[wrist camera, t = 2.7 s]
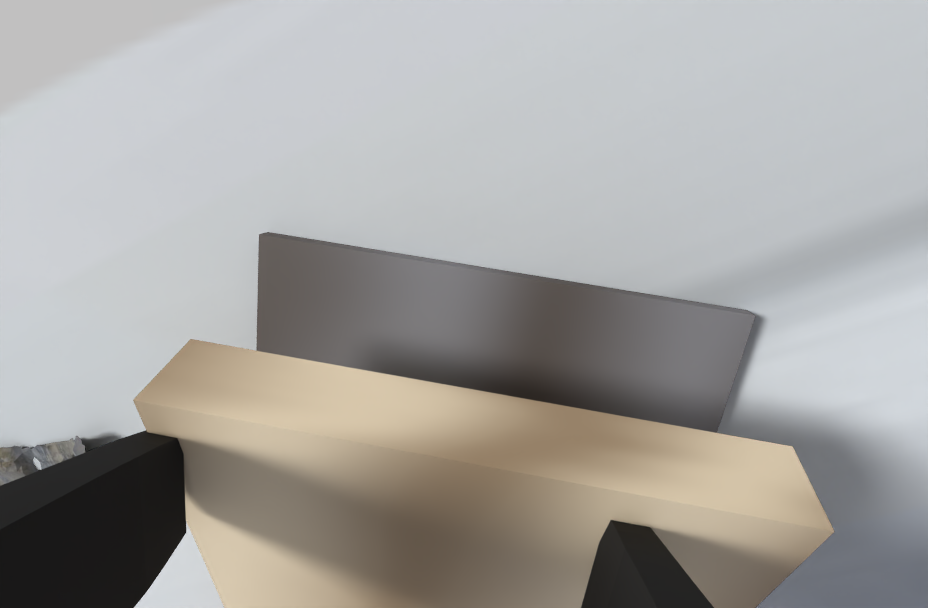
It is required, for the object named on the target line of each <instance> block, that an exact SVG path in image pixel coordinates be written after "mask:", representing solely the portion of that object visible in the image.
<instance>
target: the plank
mask: <svg viewBox="0 0 928 608" xmlns="http://www.w3.org/2000/svg"><path fill="white" fill-rule="evenodd" d="M133 401H134V403H135V405H136V408H137V410H138V412H139V415H140V417H141V419H142V421H143V424H144V426H145V428H146V430H147V432H149V433H154V434H159V435H165V436H170V437H175V438H178V440H179V443H180V446H181V448H182V451H183V453H184V481H185V510H186V521H187V523H188V526H189V528H190V530H191V533H192V535H193V537H194V539H195V542H196V544H197V546H198V548H199V551H200V553H201V555H202V557H203V560H204V562H205V564H206V567H207V569H208V571H209V573H210V576H211V578H212V580H213V582H214V585H215V587H216V589H217V592H218V594H219V596H220V598H221V601H222V603H223V605H224V607H225V608H581V606H582V602H583V599H584V595H585V591H586V588H587V584H588V581H589V577H590V574H591V570H592V566H593V563H594V559H595V556H596V552H597V548H598V545H599V542H600V540H601V538H602V536H603V534H604V532H605V530H606V528H607V526H608V524H609V522H610V520H614V521H620V522H625V523H631V524H636V525H642V526H647V527H650V528H651V529H652V530H653V531H654V532H655V534H656V535H657V536H658V537H659V539H660V540H661V541H662V543H663V544H664V545H665V546H666V548H667V549H668V550H669V551H670V553H671V554H672V555H673V556H674V558H675V559H676V560H677V562H678V563H679V564H680V565H681V567H682V568H683V569H684V570H685V572H686V573H687V574H688V576H689V577H690V578H691V579H692V581H693V582H694V583H695V584H696V586H697V587H698V588H699V589H700V591H701V592H702V593H703V594H704V596H705V597H706V598H707V599H708V601H709V602H710V603H711V604H712V606H713V607H714V608H756V607H757V606H758V605H759V604H760V603H761V602H762V601H763V600H764V599H765V598H766V597H767V596H768V595H769V594H770V593H771V592H772V591H773V590H774V589H775V588H776V587H777V586H778V585H780V584H781V583H782V582H783V581H784V580H785V579H786V578H787V577H788V576H789V575H790V574H791V573H792V572H793V571H794V570H795V569H796V568H797V567H798V566H799V565H800V564H801V563H802V562H803V561H805V560H806V559H807V558H808V557H809V556H810V555H811V554H812V553H813V552H814V551H815V550H816V549H817V548H818V547H819V546H820V545H821V544H822V543H823V542H824V541H825V540H826V539H827V538H829V537H830V536H831V535H832V534H833V533H834V530H833V528H832V525H831V523H830V521H829V519H828V517H827V515H826V513H825V511H824V509H823V507H822V505H821V503H820V501H819V499H818V497H817V495H816V493H815V491H814V489H813V487H812V485H811V483H810V481H809V479H808V477H807V475H806V473H805V471H804V469H803V467H802V465H801V463H800V461H799V459H798V457H797V454H796V452H795V450H794V448H793V446H787V445H782V444H776V443H770V442H765V441H759V440H753V439H748V438H742V437H737V436H731V435H725V434H720V433H714V432H709V431H703V430H697V429H692V428H686V427H681V426H675V425H669V424H664V423H658V422H653V421H647V420H641V419H636V418H630V417H625V416H619V415H613V414H608V413H602V412H597V411H591V410H585V409H580V408H574V407H569V406H563V405H557V404H552V403H546V402H541V401H535V400H529V399H524V398H518V397H512V396H507V395H501V394H496V393H490V392H484V391H479V390H473V389H468V388H462V387H456V386H451V385H445V384H440V383H434V382H428V381H423V380H417V379H412V378H406V377H400V376H395V375H389V374H384V373H378V372H372V371H367V370H361V369H356V368H350V367H344V366H339V365H333V364H328V363H322V362H316V361H311V360H305V359H299V358H294V357H288V356H283V355H277V354H271V353H266V352H260V351H255V350H249V349H243V348H238V347H232V346H227V345H221V344H215V343H210V342H204V341H199V340H193V339H190V340H189V341H188V343H187V344H186V345H185V346H184V347H183V348H182V349H181V350H180V351H179V352H178V353H177V354H176V355H175V356H174V357H173V358H172V359H171V361H170V362H169V363H168V364H167V365H166V366H165V367H164V368H163V369H162V370H161V371H160V372H159V373H158V374H157V375H156V376H155V377H154V378H153V380H152V381H151V382H150V383H149V384H148V385H147V386H146V387H145V388H144V389H143V390H142V391H141V392H140V393H139V394H138V395H137V396H136V398H135V399H134V400H133Z"/></svg>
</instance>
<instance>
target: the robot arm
mask: <svg viewBox="0 0 928 608" xmlns="http://www.w3.org/2000/svg"><path fill="white" fill-rule="evenodd" d="M185 533H186V510H185V481H184V453H183V451H182V448H181V446H180V443H179V440H178V438H175V437H170V436H165V435H159V434H154V433H149V432H147V430H146V431H143V432H140V433H137V434H134V435H131V436H128V437H125V438H122V439H120V440H117V441H114V442H111V443H109V444H106V445H103V446H101V447H98V448H96V449H93V450H90V451H88V452H85V453H83V454H80V455H78V456H75V457H72V458H70V459H67V460H65V461H62V462H60V463H57V464H55V465H52V466H50V467H47V468H44V469H42V470H39V471H37V472H34V473H32V474H29V475H27V476H24V477H21V478H19V479H16V480H14V481H11V482H9V483H6V484H3V485H1V486H0V608H134V607H135V605H136V604H137V603H138V602H139V600H140V599H141V598H142V597H143V595H144V594H145V593H146V592H147V590H148V589H149V588H150V586H151V585H152V583H153V582H154V580H155V579H156V577H157V576H158V574H159V573H160V572H161V570H162V569H163V567H164V566H165V564H166V563H167V561H168V560H169V558H170V557H171V555H172V553H173V552H174V550H175V549H176V547H177V546H178V544H179V543H180V541H181V540H182V538H183V536H184V535H185ZM581 608H714V607H713V606H712V604H711V603H710V602H709V601H708V599H707V598H706V597H705V596H704V594H703V593H702V592H701V591H700V589H699V588H698V587H697V586H696V584H695V583H694V582H693V581H692V579H691V578H690V577H689V576H688V574H687V573H686V572H685V570H684V569H683V568H682V567H681V565H680V564H679V563H678V562H677V560H676V559H675V558H674V556H673V555H672V554H671V553H670V551H669V550H668V549H667V548H666V546H665V545H664V544H663V543H662V541H661V540H660V539H659V537H658V536H657V535H656V534H655V532H654V531H653V530H652V529H651V528H650V527H647V526H642V525H636V524H631V523H625V522H620V521H614V520H610V522H609V524H608V526H607V528H606V530H605V532H604V534H603V536H602V538H601V540H600V542H599V545H598V548H597V552H596V556H595V559H594V563H593V566H592V570H591V574H590V577H589V581H588V584H587V588H586V591H585V595H584V599H583V602H582V606H581Z"/></svg>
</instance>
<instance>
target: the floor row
mask: <svg viewBox="0 0 928 608" xmlns="http://www.w3.org/2000/svg"><path fill="white" fill-rule="evenodd" d="M754 319H755V315H754V314H752V313H751V312H749V311H747V310H742V309H736V308H730V307H723V306H717V305H711V304H705V303H699V302H693V301H687V300H681V299H674V298H668V297H662V296H656V295H650V294H644V293H638V292H631V291H625V290H619V289H613V288H607V287H601V286H595V285H588V284H582V283H576V282H570V281H564V280H558V279H552V278H546V277H539V276H533V275H527V274H521V273H515V272H509V271H503V270H496V269H490V268H484V267H478V266H472V265H466V264H460V263H454V262H447V261H441V260H435V259H429V258H423V257H417V256H411V255H404V254H398V253H392V252H386V251H380V250H374V249H368V248H361V247H355V246H349V245H343V244H337V243H331V242H325V241H319V240H312V239H306V238H300V237H294V236H288V235H282V234H276V233H269V232H267V233H263V234H259V263H258V309H257V351H260V352H266V353H271V354H277V355H283V356H288V357H294V358H299V359H305V360H311V361H316V362H322V363H328V364H333V365H339V366H344V367H350V368H356V369H361V370H367V371H372V372H378V373H384V374H389V375H395V376H400V377H406V378H412V379H417V380H423V381H428V382H434V383H440V384H445V385H451V386H456V387H462V388H468V389H473V390H479V391H484V392H490V393H496V394H501V395H507V396H512V397H518V398H524V399H529V400H535V401H541V402H546V403H552V404H557V405H563V406H569V407H574V408H580V409H585V410H591V411H597V412H602V413H608V414H613V415H619V416H625V417H630V418H636V419H641V420H647V421H653V422H658V423H664V424H669V425H675V426H681V427H686V428H692V429H697V430H703V431H709V432H714V433H717V430H718V427H719V424H720V421H721V418H722V415H723V412H724V409H725V406H726V403H727V400H728V397H729V394H730V391H731V388H732V385H733V382H734V379H735V376H736V373H737V370H738V367H739V364H740V361H741V358H742V355H743V352H744V349H745V346H746V343H747V340H748V337H749V334H750V331H751V328H752V325H753V322H754Z"/></svg>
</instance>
